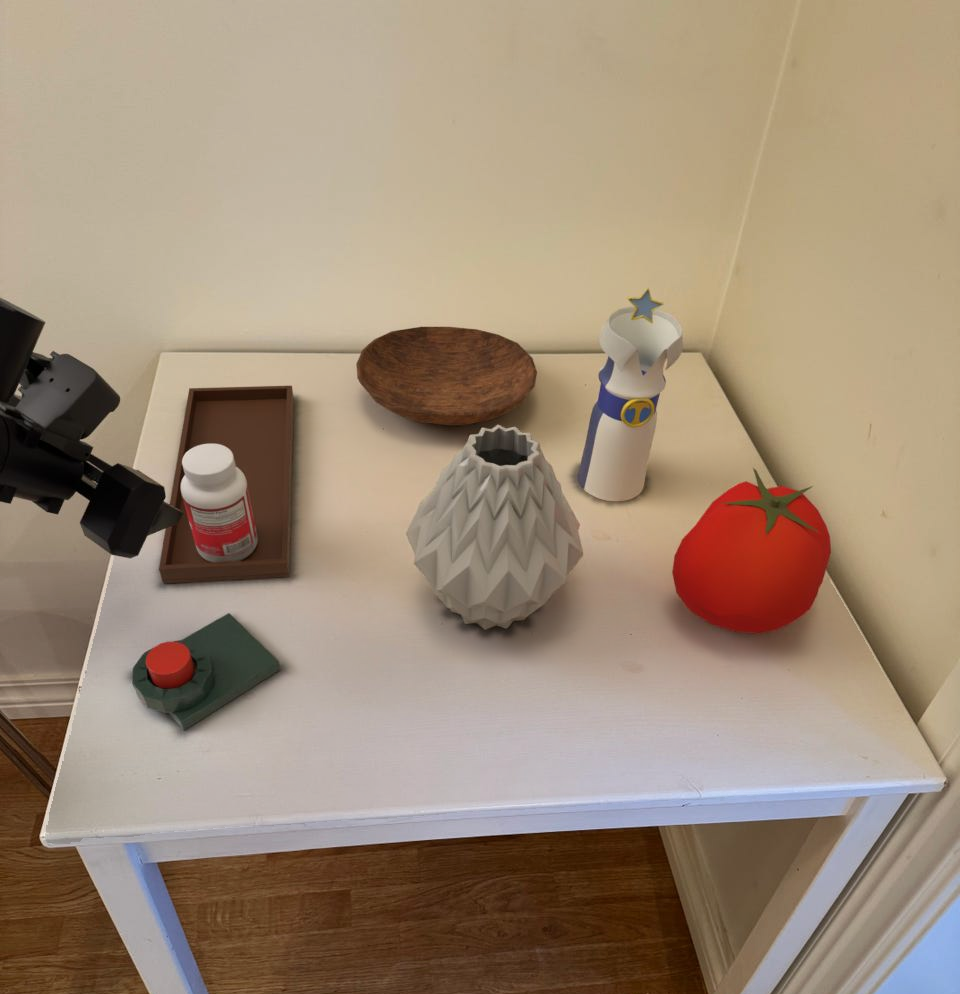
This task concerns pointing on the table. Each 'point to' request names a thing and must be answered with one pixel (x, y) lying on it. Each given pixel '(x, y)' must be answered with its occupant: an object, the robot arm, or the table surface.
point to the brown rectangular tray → (265, 464)
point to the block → (209, 672)
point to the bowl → (446, 374)
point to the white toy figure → (628, 398)
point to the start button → (170, 665)
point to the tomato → (753, 559)
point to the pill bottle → (218, 504)
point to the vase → (496, 530)
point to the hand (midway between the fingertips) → (145, 494)
